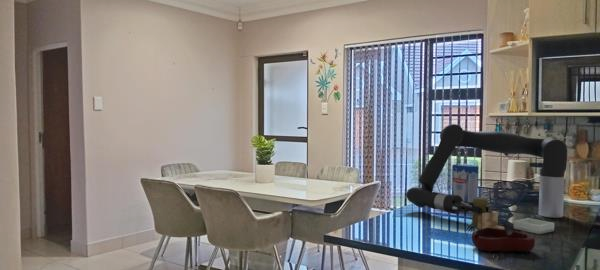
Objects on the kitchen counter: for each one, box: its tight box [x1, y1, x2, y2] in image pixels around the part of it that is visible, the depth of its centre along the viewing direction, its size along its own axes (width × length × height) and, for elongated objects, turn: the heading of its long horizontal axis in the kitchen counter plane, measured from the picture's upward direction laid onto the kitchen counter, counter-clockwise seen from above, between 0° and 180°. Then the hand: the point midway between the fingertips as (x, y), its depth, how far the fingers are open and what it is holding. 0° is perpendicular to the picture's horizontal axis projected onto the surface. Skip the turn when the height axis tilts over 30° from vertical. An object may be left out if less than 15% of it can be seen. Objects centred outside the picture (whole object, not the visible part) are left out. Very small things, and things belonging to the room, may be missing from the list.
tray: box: [512, 217, 555, 235], centre depth 176 cm, size 10×10×3 cm
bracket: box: [477, 203, 506, 230], centre depth 176 cm, size 10×5×9 cm, turn 124°
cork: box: [470, 196, 488, 229], centre depth 180 cm, size 6×6×11 cm
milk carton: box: [451, 163, 480, 202], centre depth 216 cm, size 10×6×20 cm, turn 25°
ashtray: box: [471, 228, 536, 254], centre depth 150 cm, size 18×16×5 cm
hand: (485, 210), depth 179 cm, fingers closed on cork, 4 cm apart
